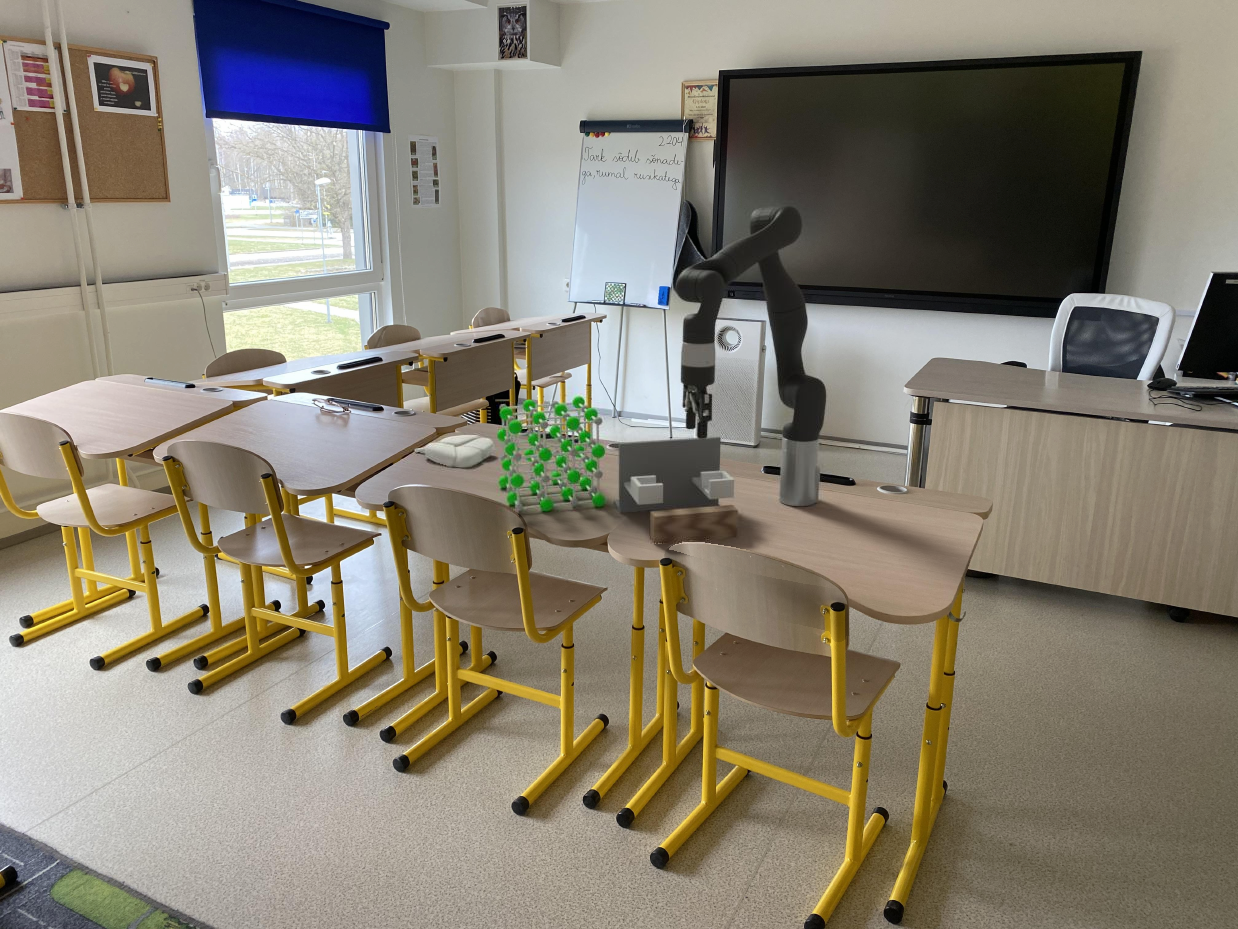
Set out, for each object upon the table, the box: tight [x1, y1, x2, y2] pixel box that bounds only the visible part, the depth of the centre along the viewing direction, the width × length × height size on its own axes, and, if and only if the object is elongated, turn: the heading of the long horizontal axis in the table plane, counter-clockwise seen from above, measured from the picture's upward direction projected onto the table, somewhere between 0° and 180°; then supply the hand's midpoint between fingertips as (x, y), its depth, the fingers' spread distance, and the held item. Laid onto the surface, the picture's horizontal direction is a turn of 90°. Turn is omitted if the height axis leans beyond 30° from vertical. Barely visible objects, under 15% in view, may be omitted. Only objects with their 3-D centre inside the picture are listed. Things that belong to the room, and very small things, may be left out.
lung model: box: [414, 434, 495, 469], centre depth 277 cm, size 7×17×25 cm
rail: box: [649, 504, 739, 545], centre depth 213 cm, size 20×4×7 cm, turn 103°
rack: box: [613, 436, 735, 514], centre depth 227 cm, size 26×21×18 cm
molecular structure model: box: [496, 395, 606, 512], centre depth 239 cm, size 24×25×24 cm
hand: (696, 433), depth 206 cm, fingers open, 8 cm apart
